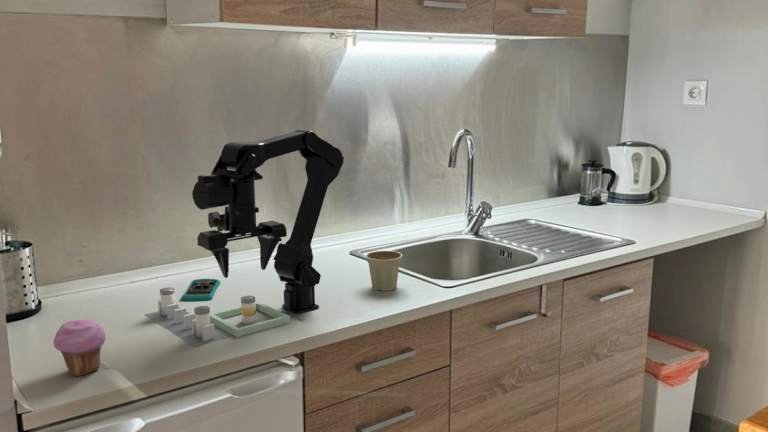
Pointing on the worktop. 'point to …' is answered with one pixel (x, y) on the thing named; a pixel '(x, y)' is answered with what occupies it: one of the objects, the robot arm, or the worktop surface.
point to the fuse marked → (248, 309)
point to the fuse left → (166, 299)
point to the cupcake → (80, 345)
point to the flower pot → (384, 269)
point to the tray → (279, 320)
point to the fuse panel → (185, 325)
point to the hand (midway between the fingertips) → (244, 273)
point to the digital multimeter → (201, 290)
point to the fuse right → (201, 319)
